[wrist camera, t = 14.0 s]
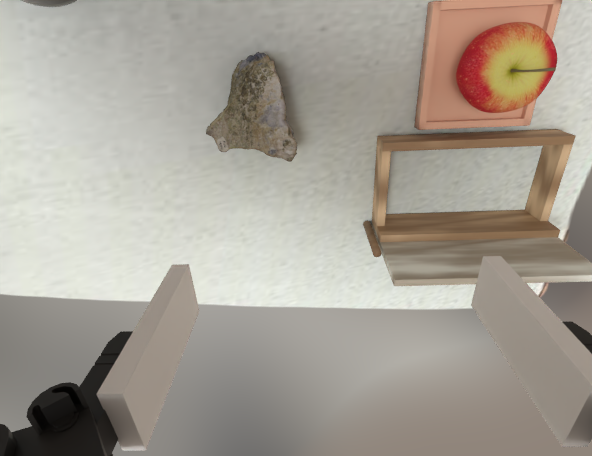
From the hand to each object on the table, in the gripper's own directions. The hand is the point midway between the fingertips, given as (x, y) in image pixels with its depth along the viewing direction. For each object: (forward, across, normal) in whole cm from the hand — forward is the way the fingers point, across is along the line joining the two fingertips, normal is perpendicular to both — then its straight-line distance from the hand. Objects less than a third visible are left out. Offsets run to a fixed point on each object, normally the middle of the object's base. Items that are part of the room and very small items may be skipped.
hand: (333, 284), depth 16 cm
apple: (+31, +19, +6) cm, 37 cm away
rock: (+29, -1, +3) cm, 29 cm away
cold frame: (+32, +19, -7) cm, 38 cm away
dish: (+32, +19, +6) cm, 38 cm away
